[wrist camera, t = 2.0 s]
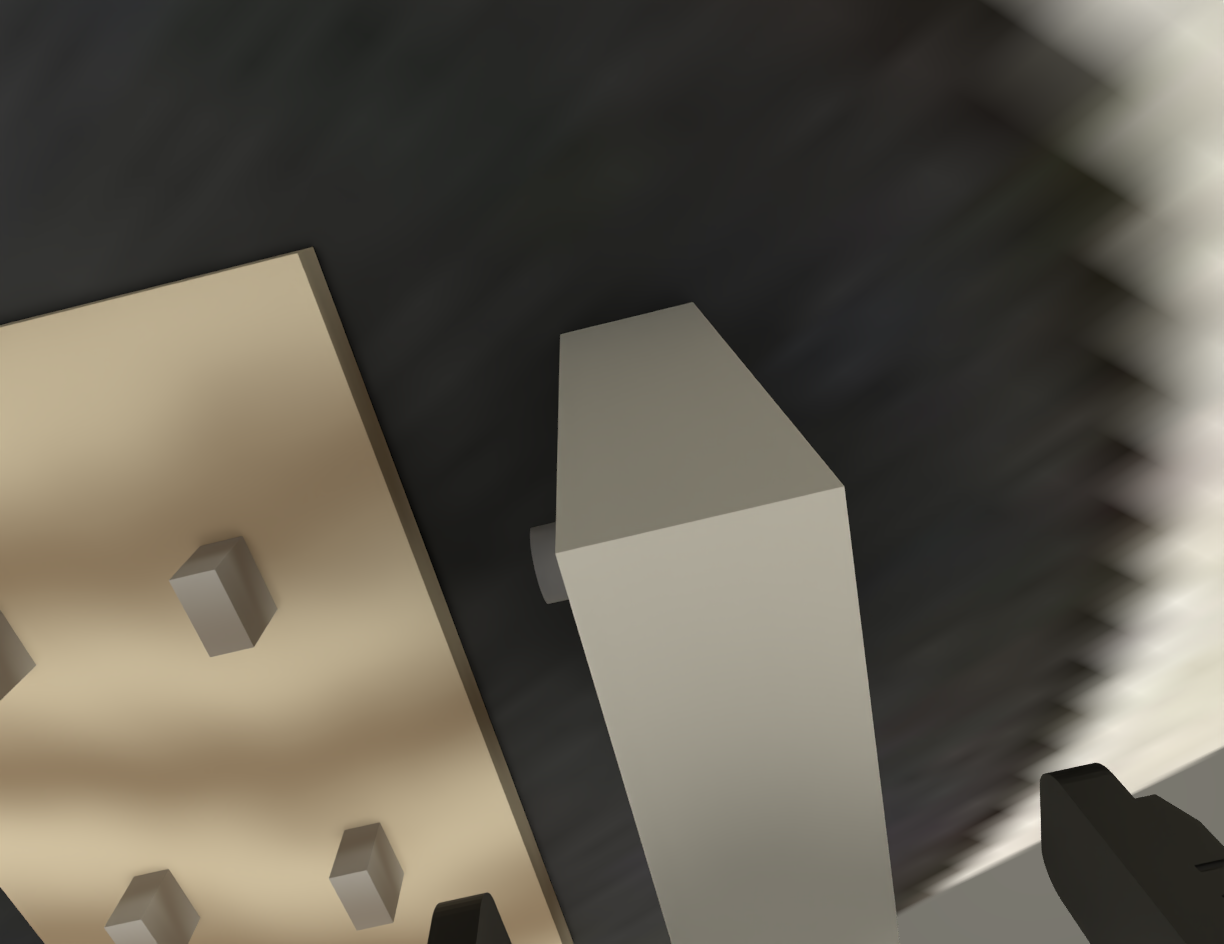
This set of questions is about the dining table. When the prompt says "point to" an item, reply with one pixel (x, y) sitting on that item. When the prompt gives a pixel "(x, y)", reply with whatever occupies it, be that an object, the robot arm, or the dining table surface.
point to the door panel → (719, 636)
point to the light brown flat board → (231, 639)
